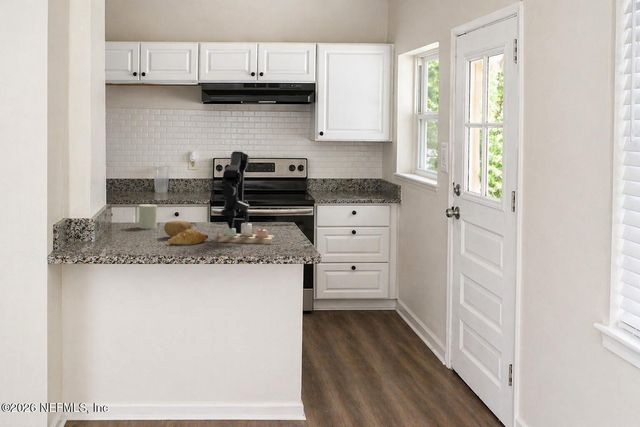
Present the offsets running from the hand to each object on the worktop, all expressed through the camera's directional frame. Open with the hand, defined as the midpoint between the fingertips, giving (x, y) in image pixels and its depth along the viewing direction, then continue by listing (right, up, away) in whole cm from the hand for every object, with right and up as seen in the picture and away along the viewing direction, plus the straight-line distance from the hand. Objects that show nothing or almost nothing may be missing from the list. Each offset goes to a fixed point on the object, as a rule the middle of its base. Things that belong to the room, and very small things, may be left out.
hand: (230, 228), depth 380 cm
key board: (+7, -6, 0) cm, 9 cm away
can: (-46, 0, +32) cm, 56 cm away
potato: (-26, -5, +4) cm, 26 cm away
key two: (+7, -3, 0) cm, 8 cm away
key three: (+15, -6, 0) cm, 16 cm away
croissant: (-19, -7, -11) cm, 23 cm away
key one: (0, -6, +1) cm, 6 cm away
